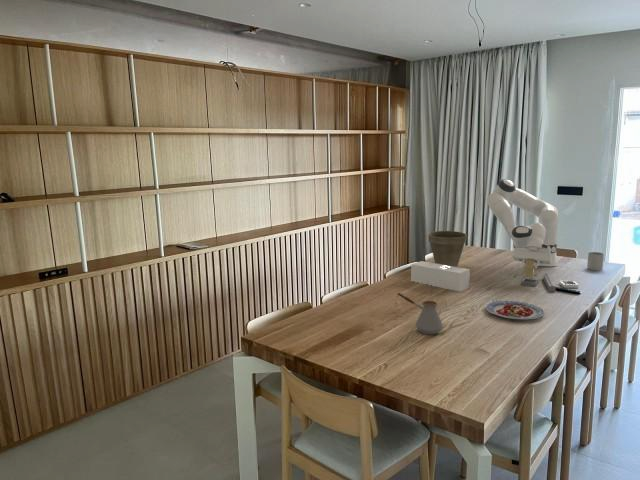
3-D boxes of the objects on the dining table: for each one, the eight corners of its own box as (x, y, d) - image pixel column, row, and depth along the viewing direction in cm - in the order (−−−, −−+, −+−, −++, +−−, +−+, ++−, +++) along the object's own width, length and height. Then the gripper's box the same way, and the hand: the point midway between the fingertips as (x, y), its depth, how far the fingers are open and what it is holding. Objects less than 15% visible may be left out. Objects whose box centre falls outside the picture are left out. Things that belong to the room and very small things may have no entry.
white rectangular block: (411, 281, 281) (411, 264, 279) (421, 278, 288) (421, 261, 286) (459, 291, 258) (460, 273, 256) (469, 287, 266) (469, 269, 264)
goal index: (524, 281, 274) (524, 278, 273) (538, 283, 269) (538, 279, 269) (521, 284, 267) (521, 281, 267) (535, 286, 263) (536, 283, 263)
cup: (598, 267, 301) (599, 252, 299) (604, 270, 293) (606, 254, 291) (584, 267, 302) (586, 252, 300) (590, 270, 294) (592, 255, 292)
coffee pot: (446, 329, 204) (447, 296, 202) (436, 338, 195) (437, 304, 192) (402, 320, 217) (402, 289, 214) (390, 328, 207) (390, 296, 205)
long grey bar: (543, 278, 278) (543, 273, 277) (548, 279, 277) (549, 273, 276) (549, 291, 254) (549, 285, 253) (555, 291, 253) (555, 285, 252)
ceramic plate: (496, 301, 240) (496, 295, 240) (550, 311, 224) (551, 305, 224) (477, 315, 221) (477, 309, 220) (535, 327, 205) (535, 321, 204)
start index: (559, 283, 267) (559, 280, 266) (573, 284, 265) (574, 281, 265) (563, 287, 260) (563, 284, 259) (578, 288, 258) (578, 284, 258)
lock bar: (526, 275, 271) (527, 258, 269) (533, 276, 268) (535, 258, 266) (524, 277, 267) (526, 259, 265) (532, 278, 265) (533, 260, 263)
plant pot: (465, 271, 300) (466, 237, 296) (426, 268, 308) (426, 236, 304) (466, 262, 324) (467, 231, 320) (430, 260, 332) (430, 230, 327)
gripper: (514, 243, 276) (509, 262, 270) (552, 246, 265) (548, 266, 259) (515, 249, 280) (511, 268, 274) (553, 252, 269) (549, 272, 263)
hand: (529, 267), depth 266 cm, fingers closed on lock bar, 4 cm apart
